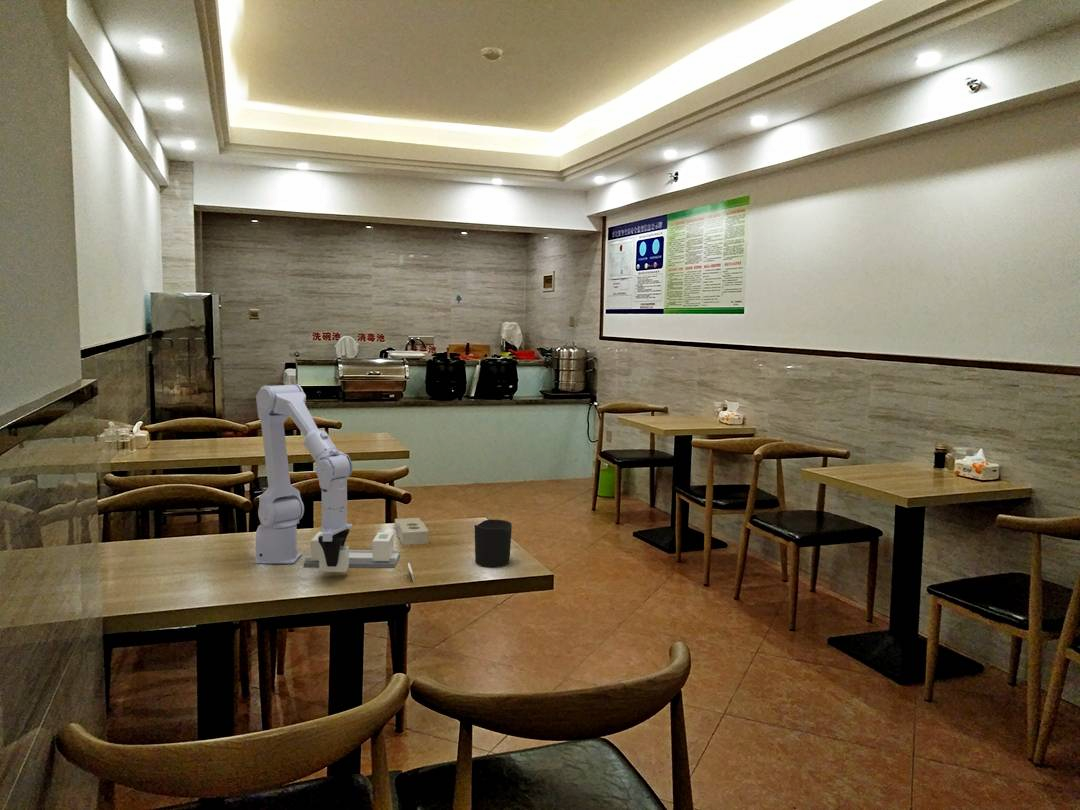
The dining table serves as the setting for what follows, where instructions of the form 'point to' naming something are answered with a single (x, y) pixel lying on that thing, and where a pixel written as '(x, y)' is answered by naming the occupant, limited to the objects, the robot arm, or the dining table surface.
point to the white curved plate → (410, 572)
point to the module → (341, 565)
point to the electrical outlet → (411, 531)
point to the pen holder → (493, 543)
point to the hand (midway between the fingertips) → (334, 563)
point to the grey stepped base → (362, 553)
